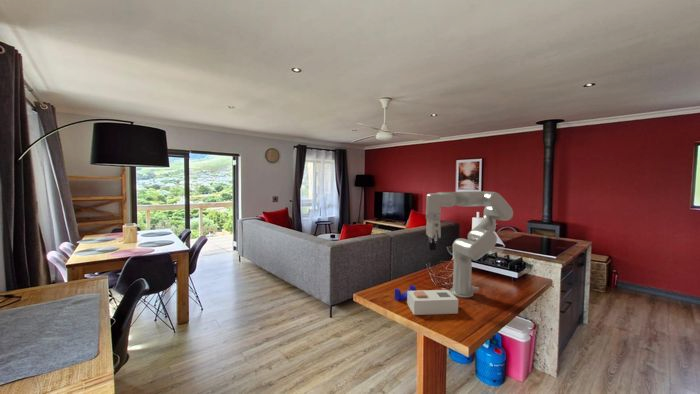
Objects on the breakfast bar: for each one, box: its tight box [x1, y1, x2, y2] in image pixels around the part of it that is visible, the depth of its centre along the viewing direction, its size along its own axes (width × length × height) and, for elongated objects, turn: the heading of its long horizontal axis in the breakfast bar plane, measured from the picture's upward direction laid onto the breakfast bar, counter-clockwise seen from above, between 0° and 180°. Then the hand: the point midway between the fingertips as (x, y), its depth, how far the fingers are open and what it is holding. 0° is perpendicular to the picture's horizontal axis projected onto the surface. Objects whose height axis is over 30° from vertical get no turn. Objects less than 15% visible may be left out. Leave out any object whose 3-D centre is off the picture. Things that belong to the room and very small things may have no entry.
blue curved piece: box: [394, 284, 417, 302], centre depth 158 cm, size 12×4×6 cm, turn 117°
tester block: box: [406, 289, 459, 316], centre depth 145 cm, size 22×12×7 cm, turn 95°
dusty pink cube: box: [414, 290, 427, 298], centre depth 144 cm, size 5×5×6 cm
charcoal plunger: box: [437, 293, 450, 297], centre depth 145 cm, size 5×5×6 cm
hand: (432, 249), depth 155 cm, fingers closed
